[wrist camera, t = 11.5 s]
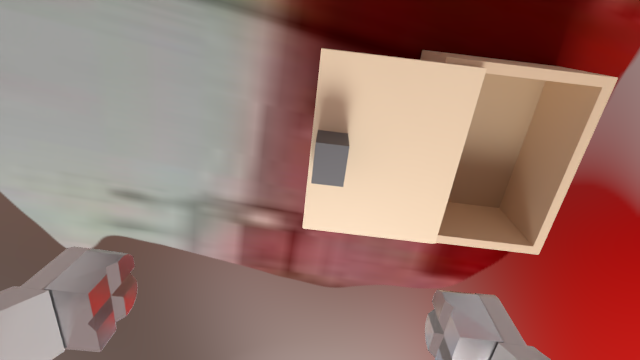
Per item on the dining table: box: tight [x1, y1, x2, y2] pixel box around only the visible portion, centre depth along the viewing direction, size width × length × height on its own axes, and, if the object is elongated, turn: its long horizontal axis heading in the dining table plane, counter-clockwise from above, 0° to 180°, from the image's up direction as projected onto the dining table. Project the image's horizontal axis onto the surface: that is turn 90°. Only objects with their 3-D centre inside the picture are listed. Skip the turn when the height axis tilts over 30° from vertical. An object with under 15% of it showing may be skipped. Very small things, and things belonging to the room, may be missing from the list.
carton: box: [420, 50, 618, 255], centre depth 41 cm, size 20×16×10 cm
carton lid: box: [303, 48, 487, 244], centre depth 34 cm, size 19×15×5 cm
